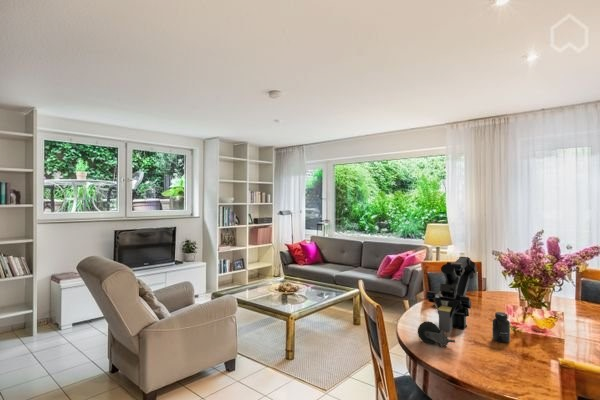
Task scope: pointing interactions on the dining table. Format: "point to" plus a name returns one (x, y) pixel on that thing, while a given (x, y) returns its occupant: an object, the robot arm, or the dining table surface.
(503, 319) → the supplement bottle
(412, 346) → the dining table surface
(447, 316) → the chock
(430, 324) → the caster wheel
